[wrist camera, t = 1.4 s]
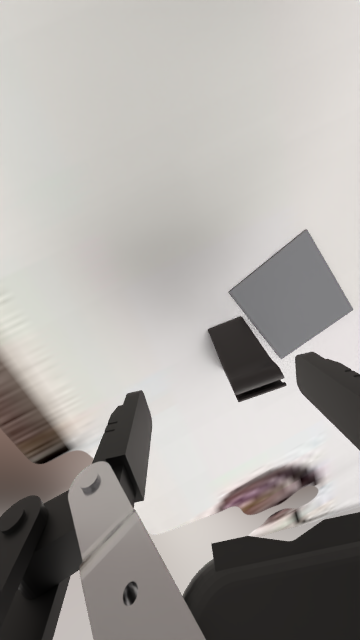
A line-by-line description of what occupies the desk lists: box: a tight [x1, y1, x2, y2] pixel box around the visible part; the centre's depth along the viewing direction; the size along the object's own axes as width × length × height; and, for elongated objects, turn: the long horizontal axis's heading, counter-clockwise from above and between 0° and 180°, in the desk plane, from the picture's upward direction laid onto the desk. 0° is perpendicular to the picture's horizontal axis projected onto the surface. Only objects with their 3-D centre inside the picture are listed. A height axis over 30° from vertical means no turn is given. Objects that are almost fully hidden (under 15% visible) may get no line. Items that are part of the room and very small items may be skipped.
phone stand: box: [208, 317, 286, 402], centre depth 29 cm, size 9×6×12 cm, turn 22°
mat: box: [229, 230, 353, 359], centre depth 32 cm, size 14×16×1 cm
